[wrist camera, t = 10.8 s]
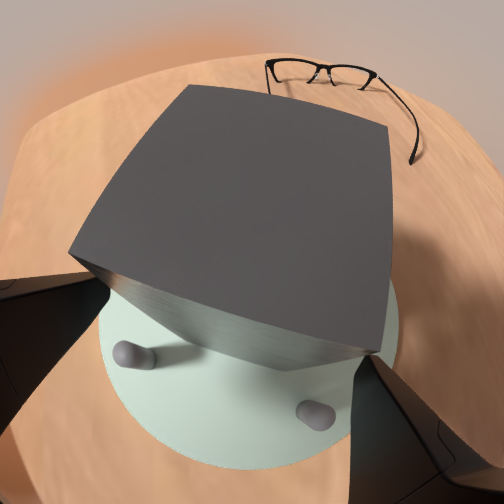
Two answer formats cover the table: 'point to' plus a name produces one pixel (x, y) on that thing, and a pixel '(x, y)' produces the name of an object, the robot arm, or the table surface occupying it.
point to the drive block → (252, 228)
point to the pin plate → (228, 393)
